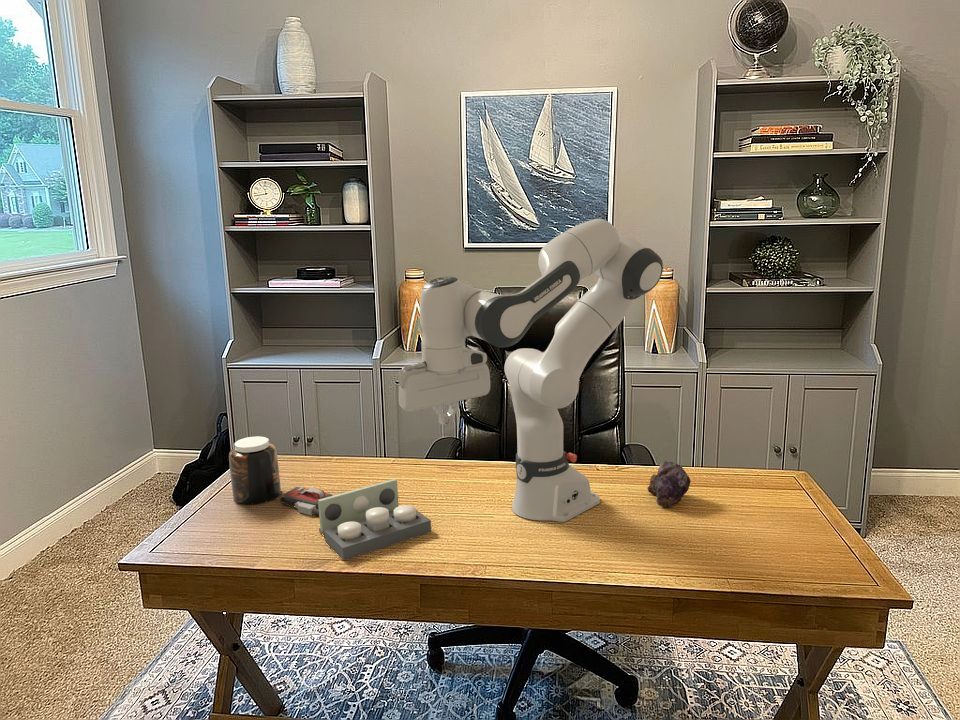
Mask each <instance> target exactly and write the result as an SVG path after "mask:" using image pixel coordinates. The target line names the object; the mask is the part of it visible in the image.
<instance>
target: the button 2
mask: <svg viewBox="0 0 960 720" xmlns="http://www.w3.org/2000/svg"><path fill="white" fill-rule="evenodd" d="M398 506H399V507H396V508H395V509H394V520H396V521H397V522H399V523H400V524H402V523H406V522H409V521H412V520H415V519H416V510H417V509H416V507H415V506H413V505H410V504H407V505H405V504H404V505H398Z"/></svg>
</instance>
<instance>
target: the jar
mask: <svg viewBox="0 0 960 720" xmlns="http://www.w3.org/2000/svg"><path fill="white" fill-rule="evenodd" d="M276 448H277V447H276V445H274V444H273V443H270V439H269V438H268V437H265V436H257V435H255V436H247V437H244V438H241V439H238V440H236V441H235V442H234V447H233V448H232V449H231V450H230V451H229V453H228V461H229V463H228V464H229V473H230V483H231V490H232V498H233V501H234V502H235V503H237V504H240V505H249V506H250V505H252V506H253V505H260V504H264V503H265V504H266V503H268V502H271V501H273V500H275V499H277V498H278V497H279V496H280V495H281V491H282V489H281V478H280V470H279V460H278V452H277V449H276Z"/></svg>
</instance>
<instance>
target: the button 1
mask: <svg viewBox="0 0 960 720" xmlns="http://www.w3.org/2000/svg"><path fill="white" fill-rule="evenodd" d="M361 534H362V530H361V524H360V523H358V522H345V523H342V524H340V525H339V526H338V537H339V538H341V539H342V540H343V541H344V542H345V541H348V540H351V539H355V538H358V537H361Z"/></svg>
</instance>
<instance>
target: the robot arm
mask: <svg viewBox="0 0 960 720" xmlns="http://www.w3.org/2000/svg"><path fill="white" fill-rule="evenodd" d="M537 260H538V261H537V262H538V268H539V271H540V274H541V276H540V277H539V278H537V279H536V280H535V281H533V282H532V283H531V284H529V285H527V286H526V287H525V288H524V289H522V290H521V291H519V292H517V293H514V294H498V293H495V292H491V291H488V290H483V289H480V288H476V287H473V286H471V285H468V284H466V283H464V282H463V281H461V280H459V278H457V277H455V276H444V277H436V278H434V279H430V280H429V281H427V282H426V283H425V284H424V285H423V286H422V288H421V291H420V297H419V324H420V325H419V326H420V328H421V331H422V337H421V338H422V339H421V343H420V345H421V346H420V347H421V362H417V363H413V364H407V365H404V367H403V368H401V370H399V372H398V384H399V386H398V387H399V388H398V405H399V406H400V408H401V409H403V410H404V411H406V412H408V413H412V412H417V411H420V410H424V409H429V408H432V409H433V410H434V412H435V413H436V415H437V417H438V424H439V425H442V426H444V425H447V424H451V423H455V421H456V417H455V415H456V413H457V411H458V409H459V407H460V402H461V401H465V400H470V399H473V398H478V397H483V396H486V395H488V394H489V393H490V390H491V376H490V369H489V366H488V365H487V360H488V355H487V353H486V352H483V351H481V350H479V349H476V348H470V347H468V346H466V339H467V338H468V337H474V338H477V339H479V340H483V341H484V342H486V343H488V344H490V345H491V346H493V347H497V348H509V347H512V346H514V345H516V344H517V343H519V342H520V341H521V339H523V338H524V336H525V335H526V333H527V332H528V331H529V329H530V328H531V327H532V325H533V324H534V323H535V322H536V321H537V320H538V319H539V318H540V317H542V316H543V315H544V314H546V313H547V312H548V311H549V310H551V309H552V308H554V307H555V306H556V305H557V304H559V303H560V302H561V301H563V300H564V299H565V298H566V297H567V296H568V295H570V293H572V292H573V291H574V290H575V289H576V288H577V286H578V285H579V284H580V283H581V282H582V281H584V280H585V279H587V278H589V277H590V276H591V275H593V274H595V275H597V276H598V280H597V282H596V283H595V284H594V285H593V286H592V287H591V288H590V289H589V290H587V291H586V292H585V293H584V294H583V295H582V296H581V297H580V298H579V299H578V300H577V301H576V302H575V304H573V305H572V307H571V308H570V309H569V310H568V311H567V312H566V313H565V314H564V315H563V317H561V318H560V320H559V321H558V322H557V323H556V324H555V328H554V335H553V337H552V339H551V341H550V343H549V344H548V346H547V348H546V349H545V350H544V351H543V352H542V351H541V350H539V349H536V348H529V347H528V348H526V347H525V348H524V347H523V348H517V349H516V350H513V351H512V352H511V353H510V354H509V355H508V356H507V358H506V359H505V363H504V367H503V368H504V374H505V377H506V379H507V382H508V385H509V390H510V391H509V392H510V396H511V400H512V406H513V411H514V415H515V416H514V417H515V421H516V422H515V423H516V438H517V439H516V440H517V445H516V446H517V447H516V448H517V449H516V451H517V452H516V453H515V471H516V481H515V482H516V483H515V491H514V496H513V501H512V504H511V511H512V513H514V514H516V515H517V516H519V517H521V518H524V519H528V520H531V521H532V520H533V521H553V522H560V523H564V522H568V521H569V520H572V519H573V518H575V517H577V516H579V515H580V514H583V513H584V512H586V511H588V510H589V509H591V508H593V507H595V506H597V505H599V504H600V503H601V498H600V496H599V495H598V494H597V493H595V492H594V491H592V490H591V484H590V480H589V479H588V478H587V476H586V475H585V474H583V473H582V472H580V471H579V470H577V469H575V468H574V467H573V466H571V465H570V464H569V461H570V462H571V463H576V461H577V460H578V459H577V458H578V456H577V454H575V453H572V452H568V453H567V451H565V450H564V423H563V419H562V417H561V414H560V412H559V409H563V408H566V407H567V406H569V405H571V403H573V402H574V401H575V399H576V398H577V395H578V393H579V387H580V378H581V376H582V373H583V372H584V369H585V368H586V366H587V363H588V362H589V361H590V359H591V358H592V356H593V354H594V353H595V352H596V351H597V350H598V349H599V348H600V347H601V345H603V343H604V342H605V341H606V340H607V339H608V337H610V336H611V334H612V333H613V332H614V331H615V330H616V329H617V327H618V326H619V325H620V324H621V323H622V322H623V320H624V318H625V317H626V316H627V313H629V311H630V309H631V308H632V306H633V304H634V301H635V300H636V299H638V298H640V297H641V296H644V295H645V294H648V293H649V292H650V291H652V290H653V289H654V288H656V286H657V285H658V283H659V282H660V280H661V278H662V275H663V272H664V271H663V270H664V267H663V266H664V262H663V259H662V258H661V257H660V255H659V254H658V253H657V252H655V251H654V250H653V249H652V248H649V247H647V246H645V245H644V244H642V243H641V242H639V241H637V240H636V239H634V238H632V237H630V236H627V235H624V234H623V233H619V232H618V231H617V229H616V227H615V226H614V225H613V224H612V223H611V222H610V221H608V220H606V219H603V218H593V219H591V220H587V221H585V222H582V223H580V224H577V225H575V226H573V227H571V228H569V229H567V230H565V231H564V232H562V233H560V234H559V235H557V236H555V237H554V238H553V239H550V240H549V241H548V242H547V243H546V244H545V245H544V246H543V247H542V248H541V249H540V251H539V254H538V259H537ZM447 404H448V405H449V408H448V411H447V413H444V412H443V410H444V408H445V405H447Z"/></svg>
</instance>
